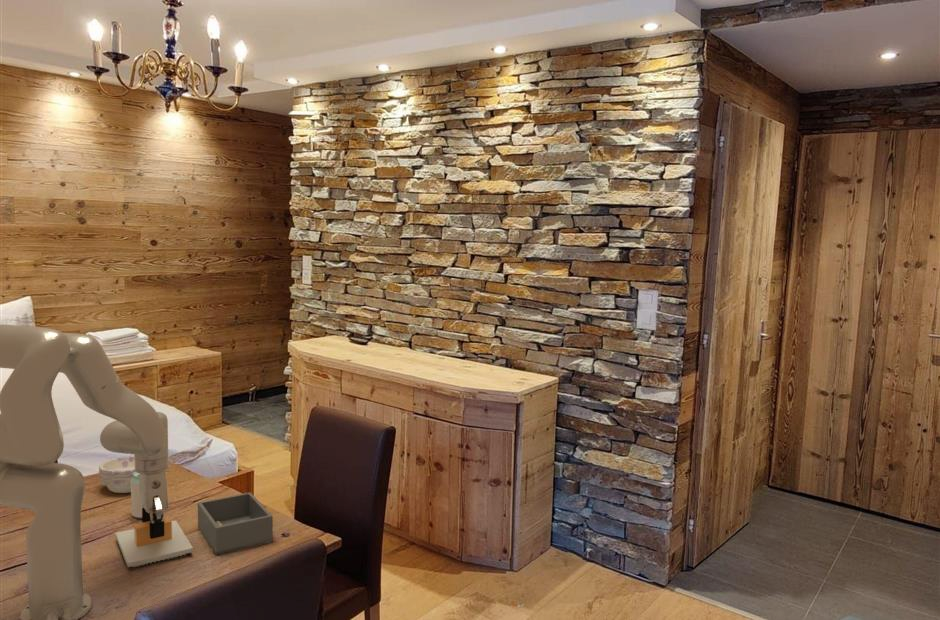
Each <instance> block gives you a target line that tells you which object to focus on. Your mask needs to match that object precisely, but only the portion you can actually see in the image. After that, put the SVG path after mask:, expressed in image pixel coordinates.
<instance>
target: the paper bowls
mask: <svg viewBox="0 0 940 620" xmlns="http://www.w3.org/2000/svg"><path fill="white" fill-rule="evenodd" d="M134 473H135V457H134V455H126V456H120V457H115V458H111V459H108V460H106V461H103V462H102V463H101V464H99V467H98V481H99V483H100V485H102V486H105V487H107V489H108V491H110V492H113V493H116V494H129V493H130V494H131V479H132V477H133V474H134Z"/></svg>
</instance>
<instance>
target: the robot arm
mask: <svg viewBox="0 0 940 620" xmlns="http://www.w3.org/2000/svg"><path fill="white" fill-rule="evenodd" d="M0 369H9V370H10V369H11V370H13V371H12V372H11V374H10V375H9V377H8V378H7V380H6V381H5V383H4V385H3V386H2V388H1V390H0V505H1V506H4V507H10V508H16V509H22V510H27V511H33V512H34V517H33V519H32V520H31V522H30V524H29V525H28V527H27V530H26V532H25V533H26V534H25V547H26V548H25V549H26V569H27V586H28V588H27V589H28V592H27V593H28V604H27V606H25V607H24V609H23V610H22V611H21V612H20V615H19V616H20V620H79V619H82V617H84V616H85V615H86V614H87V613H88V612H89V611H91V608H92V606H93V605H92V604H93V603H92V602H93V601H92V596H90V595H89V594H88V593H85V592H84V584H83V561H82V560H83V556H82V555H83V554H82V531H81V530H82V529H81V526H82V525H81V517H82V516H81V515H82V507H83V506H82V505H83V499H84V495H85V489H86V483H85V477H84V476H83V473H82V472H81V471H80V470H79V469H77V468H76V467H75V466H74V467H73V466H71V465H69V464H65V463H59V462H57V461H58V460H59V458H60V457H61V456H62V454H63V452H64V447H65V446H64V445H65V443H64V436H63V432H62V429H61V425H60V422H59V420H58V418H59V417H58V415H57V412H56V408H55V405H54V401H53V395H52V394H53V393H52V391H53V386H54V382H55V380H56V378H57V376H58V374H60V373H62V374H63V375H65V376H66V378H67V380H68V381H69V382H70V384H71V385H72V387H73V389H74V390H75V392H76V394H77V395H78V397H79V398H80V400H81V402H82V404H83V405H84V406H86V407H87V408H89V409H90V410H92V411H94V412H96V413H98V414H101V415H102V416H105V417H108V418H110V419H113V420H114V421H111V422H108V424H106V426H104V428H103V429H101V433H100V436H99V441H100V444H101V446H102V448H104V449H105V450H106V451H109V452H112V453H118V454H126V455H133V456H134V457H135V472H136V473H139V474H140V498H141V503H142V506H143V507H144V508H142V519H141V520H142V521H141V523H143V522H148V521H151V522H150V523H149V526H150V538H151V539H153V538H158V537H162V536H164V518H165V517H164V512H163V510H165V511H167V510H168V509H169V499H168V483H167V475H166V470H168V469H169V433H168V432H169V430H168V429H169V428H168V427H169V425H168V424H169V422H168V417H167V414H165V413H163V412H159V411H156V410H155V408H154V407H153V405H151V404H150V403H149V402H147V400H146V399H144V398H142V396H140V395H139V394H137V393H136V392H135V391H133V390H132V389H130V388H129V387H128V386H127V385H125V384H124V383H123V382H122V381H121V379H120V377H119V375H118V373H117V372H116V370H115V368H114V366H113V365H112V363H111V361H110V359H109V357H108V355H107V354H106V351H105V350H104V348H103V347H102V345H101V343H100V341H98V340H97V339H96V338H95V337H93V336H91V335H88V334H86V333H85V334H84V333H75V332H74V333H72V332H63V331H60V330H58V329H54V328H49V327H44V326H30V325H13V324H0Z"/></svg>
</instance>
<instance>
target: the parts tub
mask: <svg viewBox="0 0 940 620" xmlns="http://www.w3.org/2000/svg"><path fill="white" fill-rule="evenodd" d="M273 517H274V516H273V514H272V513H270V511H269V510H268V509H266V508H265V506H264V505H263V504H262V503H261V502H260V501H259V499H257V498H256V497H255V495H254V494H253V493H252V492H245V493H240V494H235V495H230V496H225V497H219V498H215V499H209V500H205V501H200V502H197V528H198V530H199V531H201V532H200V533H201V535H202V536H203V538H204V539H205V541H206V542H207V544H208V545H209V547H210V548H211V549H212V551H213V553H214V554H215V556H220V555H224V554H229V553H232V552H236V551H241V550H245V549H249V548H253V547H257V546H261V545H262V546H263V545H265V544H270V543H273V540H274V539H273V537H274V536H273V534H274V533H273V532H274V531H273V529H274V528H273V527H274V526H273V524H274V523H273V522H274V520H273Z"/></svg>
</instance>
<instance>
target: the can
mask: <svg viewBox="0 0 940 620" xmlns="http://www.w3.org/2000/svg"><path fill="white" fill-rule="evenodd" d="M130 499H131V500H130V505H131V507H130V509H131V515H132V517H134V518H136V519H141V520H142V508H144V507H143V506H142V503H141V498H140V474H139V473H136V472H135V473H134V474H133V477H132V479H131V492H130Z"/></svg>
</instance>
